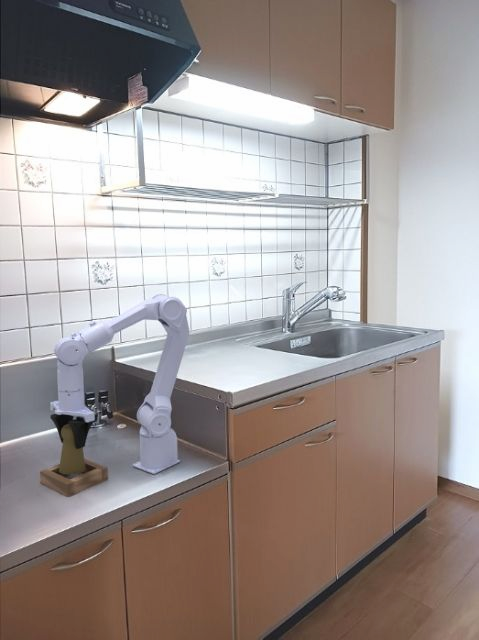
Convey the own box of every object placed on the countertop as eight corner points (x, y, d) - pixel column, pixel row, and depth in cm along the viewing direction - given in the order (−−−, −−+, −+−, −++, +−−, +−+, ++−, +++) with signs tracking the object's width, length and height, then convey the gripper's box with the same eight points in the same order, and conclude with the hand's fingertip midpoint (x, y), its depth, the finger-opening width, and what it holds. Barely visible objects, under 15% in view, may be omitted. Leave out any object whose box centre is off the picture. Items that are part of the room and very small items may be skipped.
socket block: (80, 467, 127) (79, 456, 127) (107, 479, 120) (107, 467, 120) (40, 483, 118) (40, 471, 118) (68, 497, 112) (67, 484, 111)
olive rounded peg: (61, 476, 114) (62, 429, 113) (56, 467, 119) (56, 422, 118) (88, 471, 117) (89, 426, 116) (82, 463, 123) (82, 419, 122)
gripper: (37, 387, 117) (40, 442, 119) (74, 398, 109) (77, 457, 111) (64, 381, 123) (66, 434, 125) (101, 391, 114) (103, 448, 116)
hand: (73, 444), depth 118 cm, fingers closed on olive rounded peg, 5 cm apart
